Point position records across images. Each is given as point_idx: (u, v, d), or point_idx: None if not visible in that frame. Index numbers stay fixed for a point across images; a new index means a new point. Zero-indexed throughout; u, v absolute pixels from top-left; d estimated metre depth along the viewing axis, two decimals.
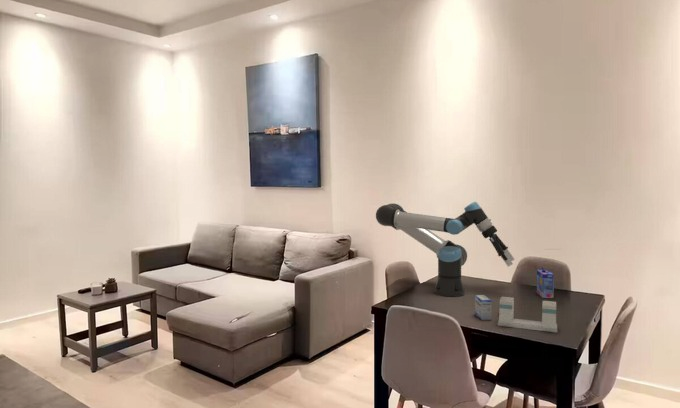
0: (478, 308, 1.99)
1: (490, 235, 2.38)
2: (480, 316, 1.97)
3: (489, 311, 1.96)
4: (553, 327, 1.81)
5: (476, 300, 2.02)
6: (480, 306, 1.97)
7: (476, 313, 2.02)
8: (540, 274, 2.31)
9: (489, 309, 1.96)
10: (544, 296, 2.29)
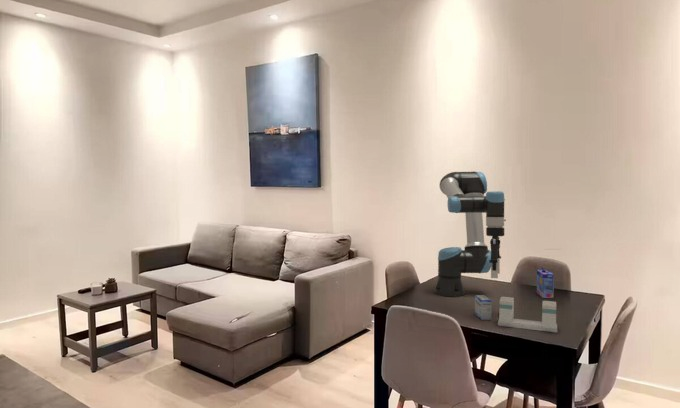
0: (478, 308, 1.99)
1: (494, 236, 1.98)
2: (480, 316, 1.97)
3: (489, 311, 1.96)
4: (553, 327, 1.81)
5: (476, 300, 2.02)
6: (480, 306, 1.97)
7: (476, 313, 2.02)
8: (540, 274, 2.31)
9: (489, 309, 1.96)
10: (544, 296, 2.29)
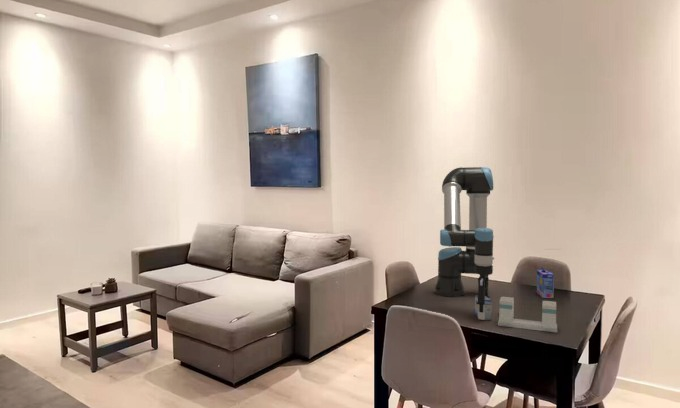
0: None
1: (482, 274, 1.96)
2: None
3: (489, 311, 1.96)
4: (553, 327, 1.81)
5: (476, 300, 2.02)
6: None
7: (476, 313, 2.02)
8: (540, 274, 2.31)
9: (489, 309, 1.96)
10: (544, 296, 2.29)
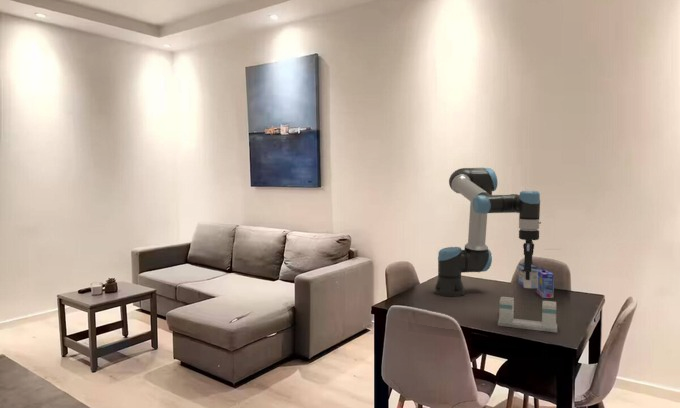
0: (523, 276, 1.86)
1: (528, 240, 1.82)
2: None
3: (535, 279, 1.83)
4: (553, 327, 1.81)
5: (520, 268, 1.89)
6: None
7: (520, 282, 1.89)
8: (540, 274, 2.31)
9: (536, 277, 1.83)
10: (544, 296, 2.29)
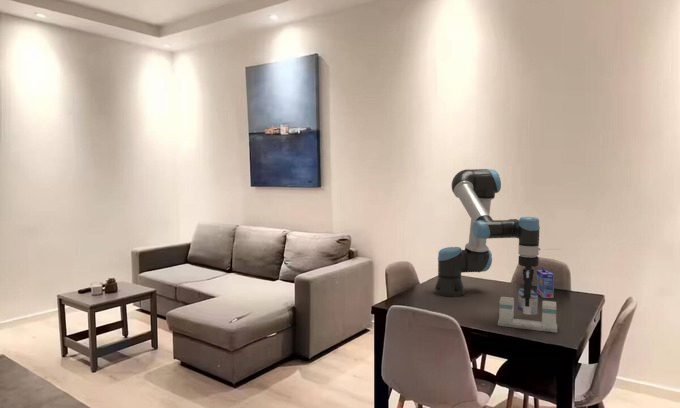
0: (523, 302, 1.87)
1: (528, 266, 1.83)
2: None
3: (535, 305, 1.84)
4: (553, 327, 1.81)
5: (520, 293, 1.89)
6: None
7: (520, 307, 1.89)
8: (540, 274, 2.31)
9: (535, 303, 1.84)
10: (544, 296, 2.29)
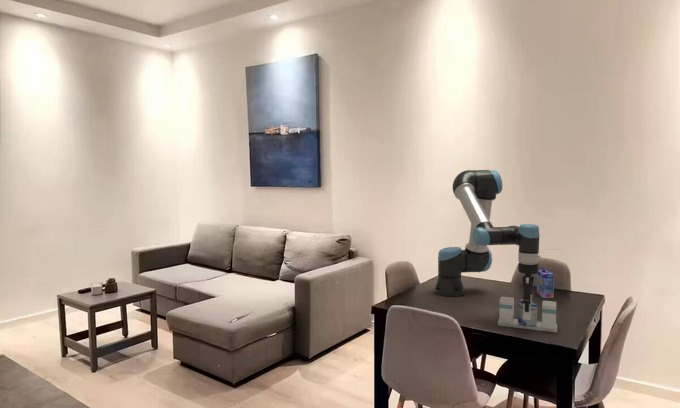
0: (522, 313, 1.88)
1: (527, 273, 1.83)
2: (525, 322, 1.86)
3: (535, 316, 1.85)
4: (553, 327, 1.81)
5: (519, 304, 1.90)
6: None
7: (520, 318, 1.90)
8: (540, 274, 2.31)
9: (535, 314, 1.85)
10: (544, 296, 2.29)
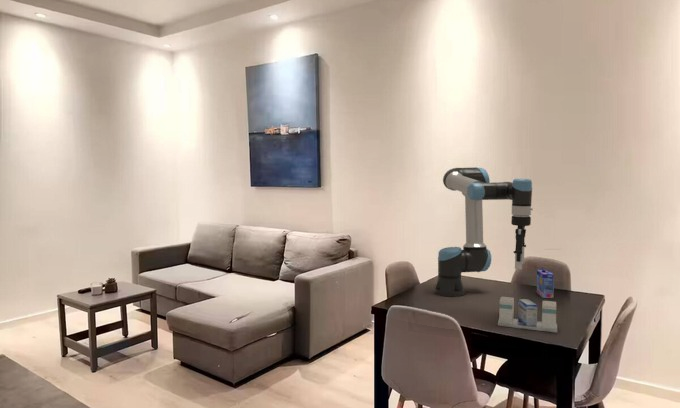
0: (522, 313, 1.88)
1: (520, 225, 1.91)
2: (525, 322, 1.86)
3: (535, 316, 1.85)
4: (553, 327, 1.81)
5: (519, 304, 1.90)
6: (525, 311, 1.85)
7: (520, 318, 1.90)
8: (540, 274, 2.31)
9: (535, 314, 1.85)
10: (544, 296, 2.29)
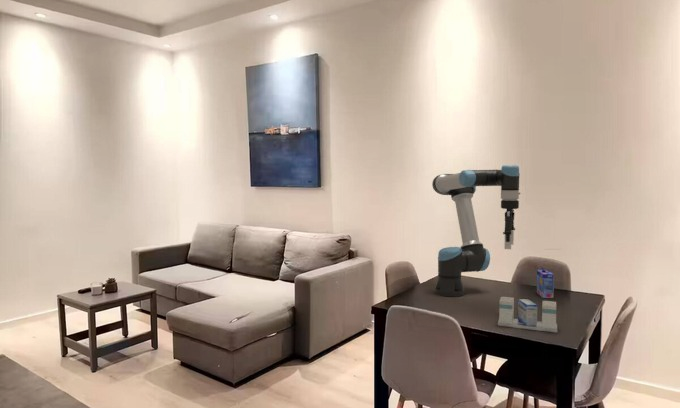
0: (522, 313, 1.88)
1: (509, 208, 2.04)
2: (525, 322, 1.86)
3: (535, 316, 1.85)
4: (553, 327, 1.81)
5: (519, 304, 1.90)
6: (525, 311, 1.85)
7: (520, 318, 1.90)
8: (540, 274, 2.31)
9: (535, 314, 1.85)
10: (544, 296, 2.29)
